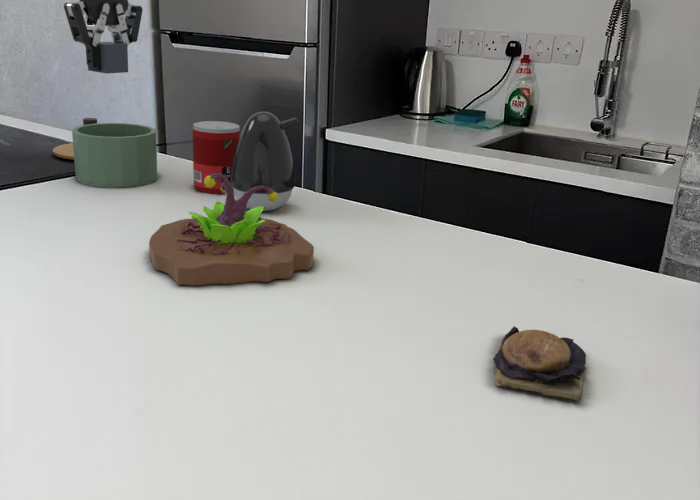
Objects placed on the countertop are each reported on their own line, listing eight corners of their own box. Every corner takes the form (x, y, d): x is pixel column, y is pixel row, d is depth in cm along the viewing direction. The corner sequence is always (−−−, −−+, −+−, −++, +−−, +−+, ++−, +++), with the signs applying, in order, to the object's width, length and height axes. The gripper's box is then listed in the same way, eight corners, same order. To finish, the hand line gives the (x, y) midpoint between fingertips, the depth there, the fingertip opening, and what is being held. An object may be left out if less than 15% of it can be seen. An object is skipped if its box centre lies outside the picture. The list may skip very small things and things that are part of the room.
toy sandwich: (584, 407, 60) (592, 370, 58) (487, 386, 62) (493, 350, 60) (583, 352, 69) (590, 319, 68) (499, 336, 71) (504, 304, 70)
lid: (64, 165, 126) (60, 127, 124) (45, 150, 137) (41, 114, 135) (140, 160, 135) (138, 123, 132) (116, 145, 145) (115, 111, 143)
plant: (135, 239, 92) (131, 157, 88) (271, 226, 101) (273, 151, 97) (170, 296, 75) (168, 199, 72) (329, 275, 84) (334, 187, 80)
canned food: (231, 196, 115) (231, 130, 111) (186, 191, 116) (184, 126, 112) (245, 185, 122) (246, 123, 118) (203, 180, 123) (202, 119, 119)
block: (106, 73, 110) (104, 44, 108) (87, 70, 112) (86, 41, 110) (128, 72, 113) (127, 44, 112) (110, 69, 115) (108, 41, 114)
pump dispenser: (300, 215, 107) (304, 118, 102) (233, 216, 104) (233, 116, 99) (289, 197, 116) (292, 107, 111) (227, 198, 113) (227, 105, 108)
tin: (89, 190, 112) (85, 139, 109) (67, 172, 122) (63, 124, 119) (168, 183, 120) (167, 134, 117) (141, 166, 130) (139, 121, 127)
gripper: (122, -40, 114) (126, 65, 120) (46, -48, 103) (55, 69, 108) (154, -38, 111) (156, 70, 116) (79, -46, 99) (86, 74, 105)
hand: (108, 69), depth 112 cm, fingers closed on block, 4 cm apart
